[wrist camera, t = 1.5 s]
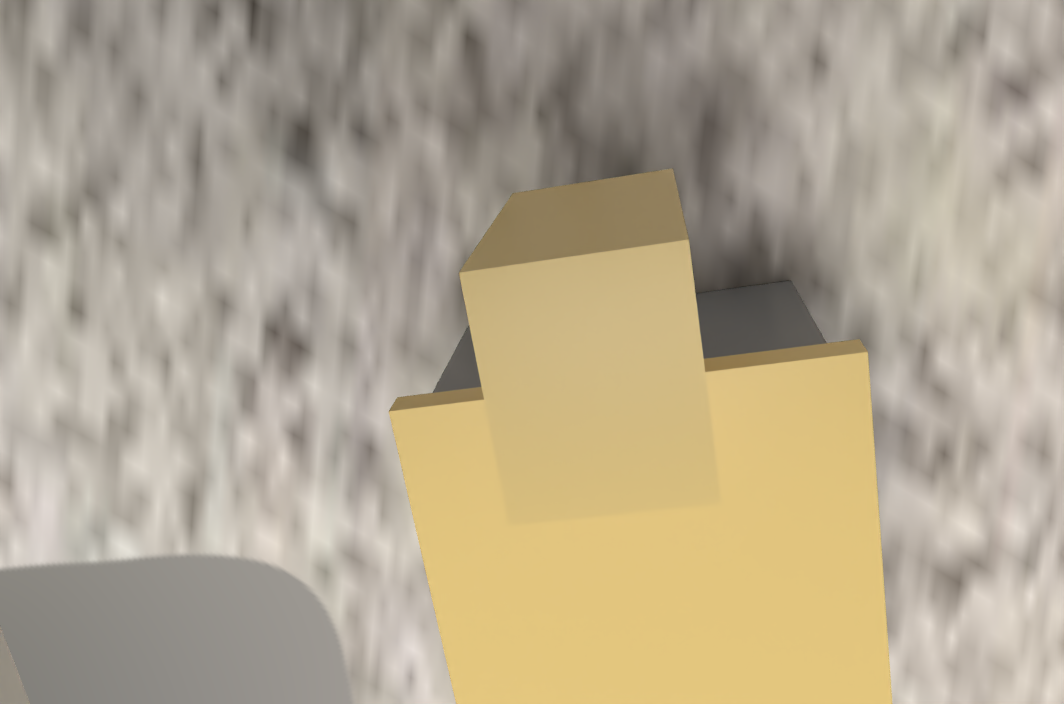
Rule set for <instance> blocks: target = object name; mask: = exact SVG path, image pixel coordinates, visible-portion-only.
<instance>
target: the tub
mask: <svg viewBox="0 0 1064 704" xmlns="http://www.w3.org/2000/svg"><path fill="white" fill-rule="evenodd" d="M696 301H697V310H698V318H699V326H700V334H701V342H702V350H703V358H704V359H706V358H714V357H722V356H730V355H738V354H746V353H754V352H762V351H770V350H777V349H785V348H793V347H801V346H809V345H817V344H825V343H826V341H825V340H824V338H823V336H822V334H821V333H820V331H819V329H818V327H817V326H816V324H815V322H814V320H813V319H812V317H811V315H810V313H809V312H808V310H807V308H806V306H805V305H804V303H803V301H802V299H801V298H800V296H799V294H798V292H797V291H796V289H795V287H794V285H793V283H792V282H791V281H784V282H777V283H770V284H762V285H755V286H748V287H740V288H733V289H726V290H718V291H711V292H703V293H696ZM476 387H481V382H480V377H479V372H478V367H477V362H476V357H475V352H474V346H473V341H472V336H471V331H470V326H468V327H467V329H466V331H465V333H464V335H463V337H462V339H461V340H460V342H459V344H458V346H457V348H456V350H455V352H454V354H453V355H452V357H451V359H450V361H449V363H448V365H447V367H446V369H445V370H444V372H443V374H442V376H441V378H440V380H439V382H438V383H437V385H436V387H435V389H434V391H433V393H437V392H444V391H452V390H460V389H468V388H476Z"/></svg>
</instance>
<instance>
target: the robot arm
mask: <svg viewBox="0 0 1064 704" xmlns="http://www.w3.org/2000/svg"><path fill="white" fill-rule="evenodd" d="M0 704H30V702H29V700H28V697H27V695H26V692H25V690H24V687H23V684H22V682H21V679H20V676H19V674H18V671H17V669H16V666H15V663H14V661H13V658H12V656H11V653H10V650H9V648H8V645H7V643H6V640H5V637H4V635H3V632H2V630H1V627H0Z"/></svg>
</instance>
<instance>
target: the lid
mask: <svg viewBox="0 0 1064 704" xmlns="http://www.w3.org/2000/svg"><path fill="white" fill-rule="evenodd" d="M459 276H460V281H461V286H462V291H463V296H464V301H465V306H466V311H467V316H468V321H469V326H470V331H471V336H472V341H473V346H474V352H475V357H476V362H477V367H478V372H479V377H480V382H481V387H476V388H468V389H460V390H452V391H444V392H437V393H429V394H421V395H413V396H405V397H397V399H396V401H395V402H394V404H393V405H392V407H391V409H390V410H389V415H390V419H391V423H392V428H393V432H394V436H395V441H396V445H397V449H398V454H399V458H400V462H401V467H402V471H403V475H404V480H405V484H406V488H407V493H408V497H409V501H410V506H411V510H412V514H413V519H414V523H415V527H416V532H417V536H418V540H419V545H420V549H421V553H422V558H423V562H424V566H425V571H426V575H427V579H428V584H429V588H430V592H431V597H432V601H433V605H434V610H435V614H436V618H437V623H438V627H439V631H440V635H441V640H442V644H443V648H444V653H445V657H446V661H447V666H448V670H449V674H450V679H451V683H452V687H453V692H454V696H455V700H456V704H892V693H891V679H890V664H889V650H888V635H887V621H886V607H885V592H884V578H883V563H882V549H881V534H880V520H879V506H878V491H877V477H876V462H875V448H874V434H873V419H872V405H871V390H870V376H869V362H868V351H867V350H866V348H865V347H864V346H863V344H862V343H861V341H860V340H859V339H857V340H849V341H841V342H833V343H825V344H817V345H809V346H801V347H793V348H785V349H777V350H770V351H762V352H754V353H746V354H738V355H730V356H722V357H714V358H706V359H704V358H703V350H702V342H701V334H700V326H699V318H698V310H697V301H696V293H695V285H694V277H693V269H692V261H691V253H690V245H689V238H688V234H687V229H686V225H685V220H684V216H683V211H682V207H681V203H680V198H679V194H678V189H677V185H676V181H675V176H674V172H673V169H666V170H660V171H653V172H647V173H640V174H634V175H627V176H621V177H615V178H608V179H602V180H595V181H589V182H582V183H576V184H569V185H563V186H557V187H550V188H544V189H537V190H531V191H524V192H518V193H513V194H512V195H511V197H510V198H509V200H508V201H507V203H506V204H505V206H504V207H503V208H502V210H501V211H500V213H499V214H498V216H497V217H496V219H495V220H494V222H493V223H492V225H491V226H490V228H489V229H488V231H487V232H486V233H485V235H484V236H483V238H482V239H481V241H480V242H479V244H478V245H477V247H476V248H475V250H474V251H473V253H472V254H471V256H470V257H469V258H468V260H467V261H466V263H465V264H464V266H463V267H462V269H461V270H460V272H459Z"/></svg>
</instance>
